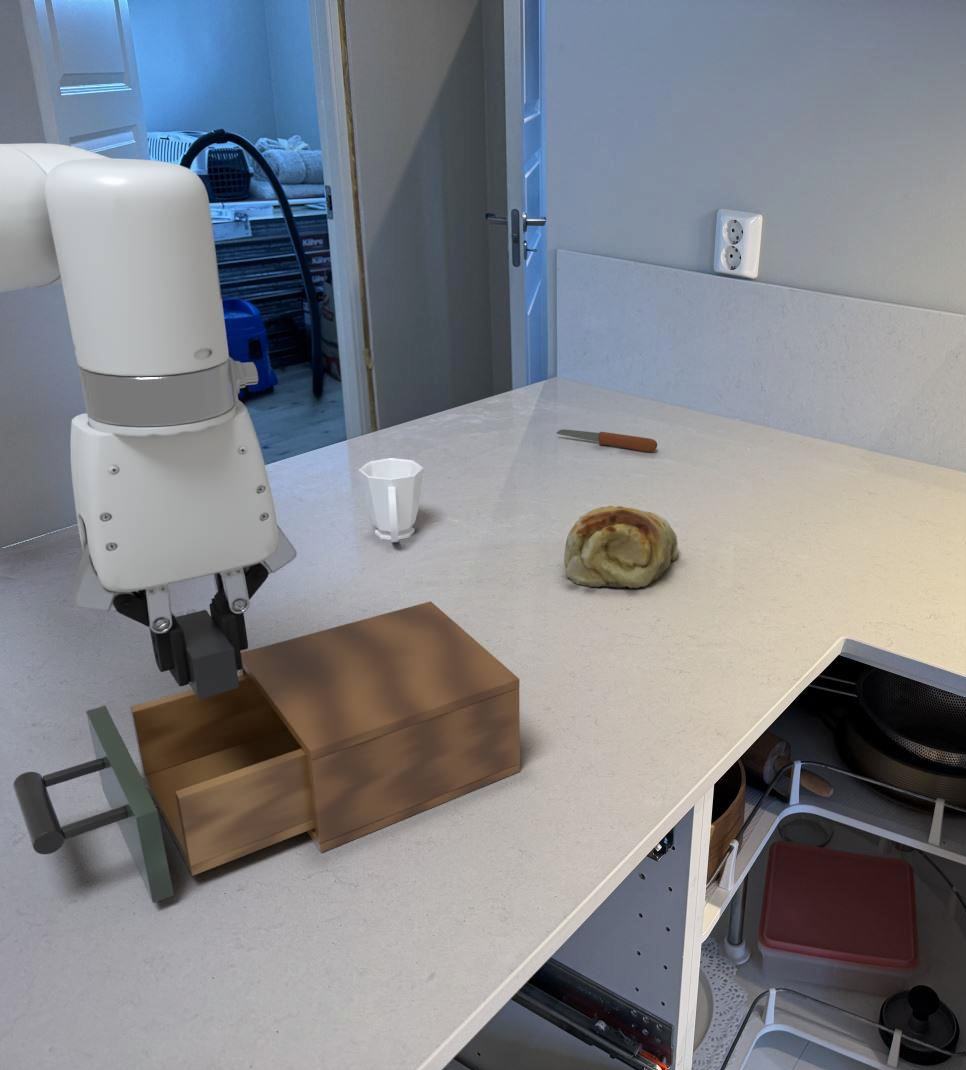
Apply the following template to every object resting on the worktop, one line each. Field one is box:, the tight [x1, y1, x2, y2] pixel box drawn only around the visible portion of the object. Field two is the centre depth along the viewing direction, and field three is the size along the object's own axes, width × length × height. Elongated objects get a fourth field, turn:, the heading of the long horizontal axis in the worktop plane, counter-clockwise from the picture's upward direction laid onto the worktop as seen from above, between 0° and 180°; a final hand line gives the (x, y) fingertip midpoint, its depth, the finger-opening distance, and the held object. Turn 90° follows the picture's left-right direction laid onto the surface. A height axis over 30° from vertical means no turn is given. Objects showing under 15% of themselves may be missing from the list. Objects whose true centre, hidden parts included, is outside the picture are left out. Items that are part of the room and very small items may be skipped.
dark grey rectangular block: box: [148, 608, 239, 699], centre depth 65 cm, size 10×3×3 cm, turn 41°
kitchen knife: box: [556, 428, 658, 453], centre depth 149 cm, size 16×1×2 cm, turn 78°
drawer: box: [12, 674, 315, 904], centre depth 68 cm, size 20×13×7 cm
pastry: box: [563, 505, 679, 589], centre depth 110 cm, size 14×12×8 cm
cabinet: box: [239, 600, 521, 853], centre depth 76 cm, size 16×15×9 cm
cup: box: [358, 457, 424, 543], centre depth 113 cm, size 7×10×8 cm
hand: (204, 666), depth 64 cm, fingers closed on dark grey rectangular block, 2 cm apart
